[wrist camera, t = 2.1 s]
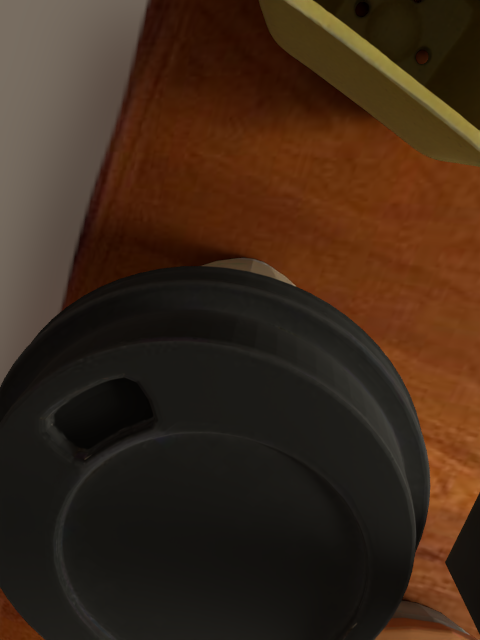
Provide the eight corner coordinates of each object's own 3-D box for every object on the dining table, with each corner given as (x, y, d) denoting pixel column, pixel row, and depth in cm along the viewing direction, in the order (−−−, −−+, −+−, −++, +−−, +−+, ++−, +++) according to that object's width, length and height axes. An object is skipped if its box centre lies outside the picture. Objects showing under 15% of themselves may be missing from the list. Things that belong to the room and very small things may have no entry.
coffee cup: (212, 184, 20) (66, 155, 6) (371, 290, 21) (596, 498, 7) (121, 338, 23) (-136, 589, 8) (267, 427, 23) (264, 789, 9)
